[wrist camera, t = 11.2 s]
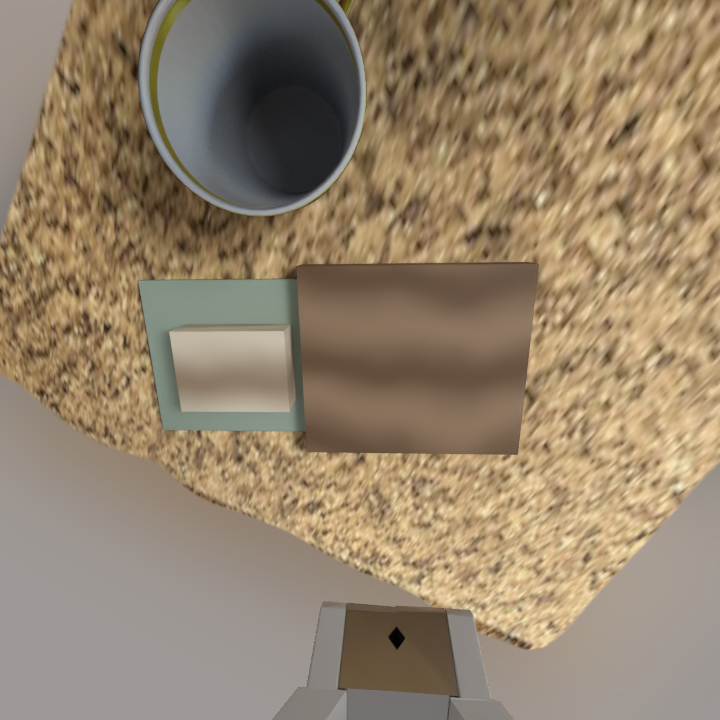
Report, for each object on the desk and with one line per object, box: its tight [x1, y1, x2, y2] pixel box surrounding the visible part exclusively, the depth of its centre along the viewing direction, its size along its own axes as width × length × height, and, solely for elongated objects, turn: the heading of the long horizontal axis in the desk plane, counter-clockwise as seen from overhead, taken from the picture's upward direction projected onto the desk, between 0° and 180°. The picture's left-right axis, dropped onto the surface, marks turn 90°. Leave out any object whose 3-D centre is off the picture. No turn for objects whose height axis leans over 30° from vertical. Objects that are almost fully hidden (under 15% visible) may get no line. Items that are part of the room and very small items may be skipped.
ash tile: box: [169, 324, 296, 412], centre depth 30 cm, size 6×8×2 cm
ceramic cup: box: [138, 0, 367, 216], centre depth 22 cm, size 13×10×10 cm
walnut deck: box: [296, 262, 539, 455], centre depth 30 cm, size 14×16×2 cm
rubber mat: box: [138, 279, 306, 431], centre depth 31 cm, size 12×12×1 cm
